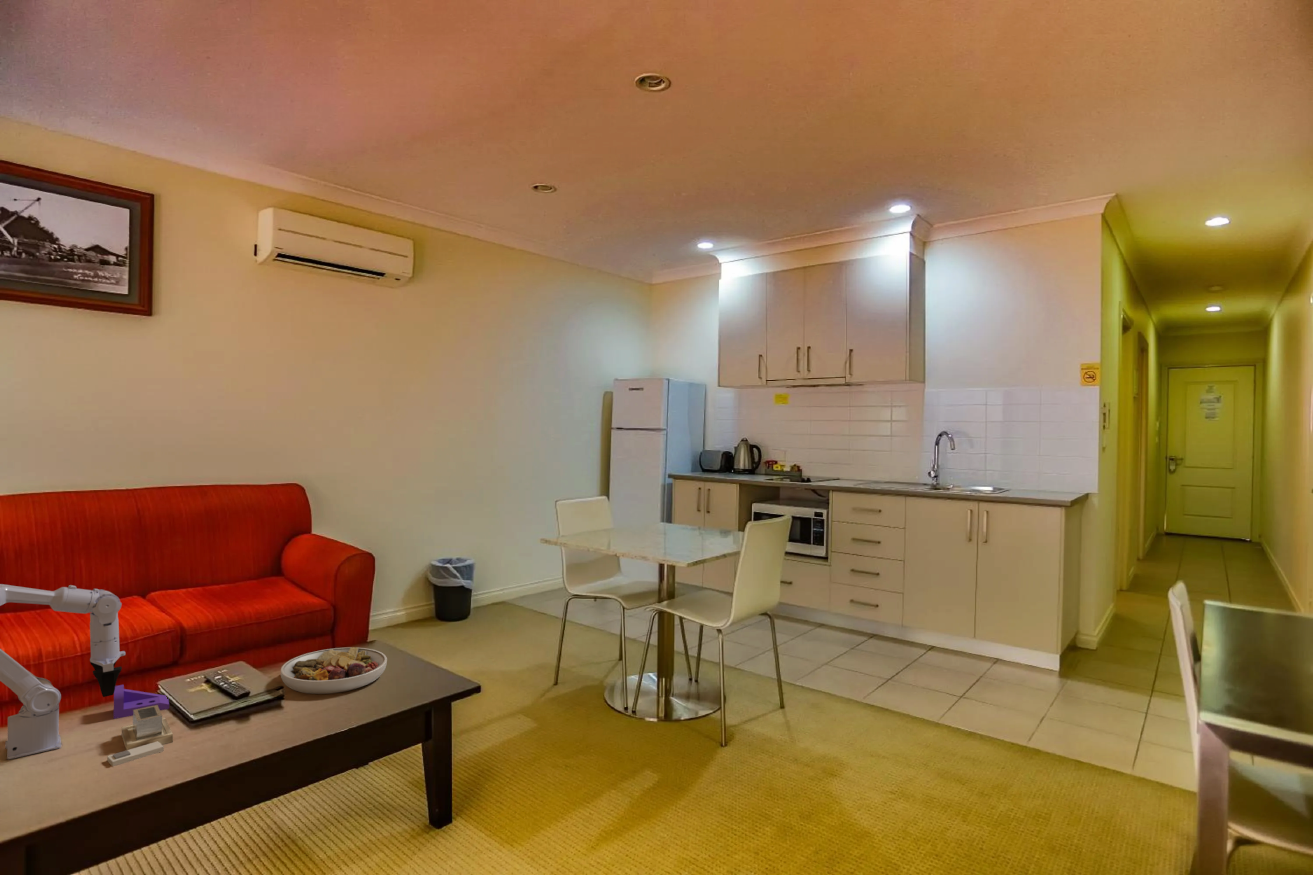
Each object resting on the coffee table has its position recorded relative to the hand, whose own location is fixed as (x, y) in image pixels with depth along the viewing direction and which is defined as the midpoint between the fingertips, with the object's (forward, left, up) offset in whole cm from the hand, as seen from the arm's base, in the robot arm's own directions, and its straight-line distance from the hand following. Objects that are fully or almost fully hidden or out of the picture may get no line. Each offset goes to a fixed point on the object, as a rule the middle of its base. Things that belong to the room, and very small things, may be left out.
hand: (106, 690), depth 176 cm
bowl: (+56, +1, -10) cm, 57 cm away
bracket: (+8, +9, -11) cm, 16 cm away
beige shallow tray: (+7, -12, -10) cm, 17 cm away
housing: (+7, -12, -8) cm, 16 cm away
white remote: (+4, -21, -10) cm, 24 cm away
